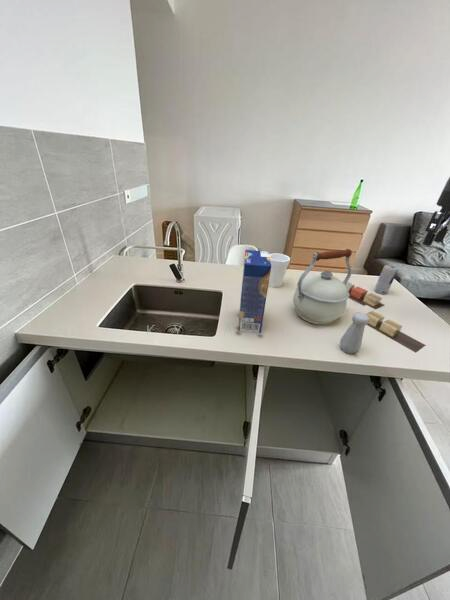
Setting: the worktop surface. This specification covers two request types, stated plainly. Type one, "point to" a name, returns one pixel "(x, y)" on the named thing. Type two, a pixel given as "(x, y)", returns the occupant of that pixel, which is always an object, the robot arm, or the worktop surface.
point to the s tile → (358, 292)
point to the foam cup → (278, 269)
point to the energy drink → (385, 279)
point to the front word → (393, 331)
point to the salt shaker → (354, 333)
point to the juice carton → (254, 290)
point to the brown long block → (368, 299)
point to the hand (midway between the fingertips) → (432, 243)
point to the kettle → (322, 291)
